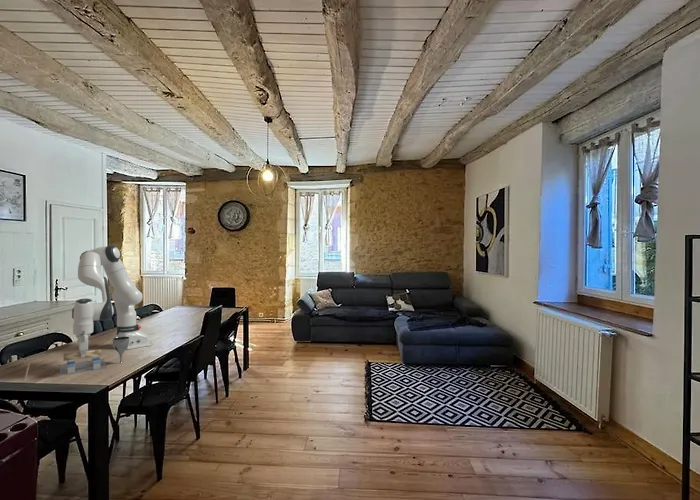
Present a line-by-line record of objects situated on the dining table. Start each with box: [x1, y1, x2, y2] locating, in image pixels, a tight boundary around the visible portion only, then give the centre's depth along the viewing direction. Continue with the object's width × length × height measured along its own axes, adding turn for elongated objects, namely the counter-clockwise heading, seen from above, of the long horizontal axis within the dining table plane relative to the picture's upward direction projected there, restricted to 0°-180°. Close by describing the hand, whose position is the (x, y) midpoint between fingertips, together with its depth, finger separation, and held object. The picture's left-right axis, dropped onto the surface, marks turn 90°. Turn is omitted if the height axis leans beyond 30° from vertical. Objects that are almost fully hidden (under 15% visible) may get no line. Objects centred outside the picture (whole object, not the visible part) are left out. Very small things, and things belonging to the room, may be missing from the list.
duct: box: [59, 356, 108, 377], centre depth 203 cm, size 20×21×5 cm
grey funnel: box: [112, 336, 129, 364], centre depth 210 cm, size 8×8×15 cm
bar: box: [63, 348, 102, 362], centre depth 198 cm, size 16×3×3 cm, turn 127°
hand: (82, 355), depth 198 cm, fingers closed on bar, 3 cm apart
